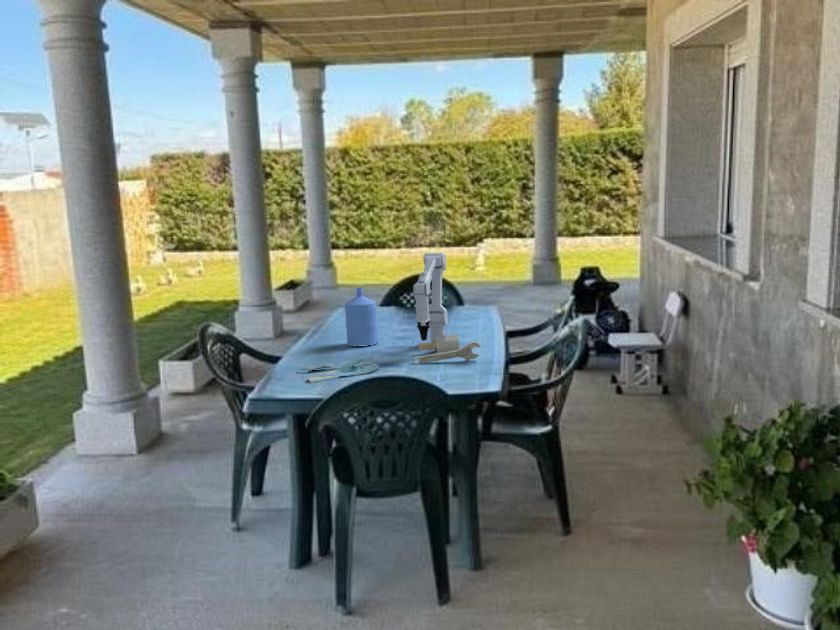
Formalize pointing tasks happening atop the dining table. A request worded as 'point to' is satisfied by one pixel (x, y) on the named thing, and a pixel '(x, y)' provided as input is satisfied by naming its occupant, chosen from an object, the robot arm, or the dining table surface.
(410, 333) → the dining table surface
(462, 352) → the wrench
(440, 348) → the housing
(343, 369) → the rubber gloves
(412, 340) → the dining table surface
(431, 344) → the gold trophy
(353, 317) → the water jug
